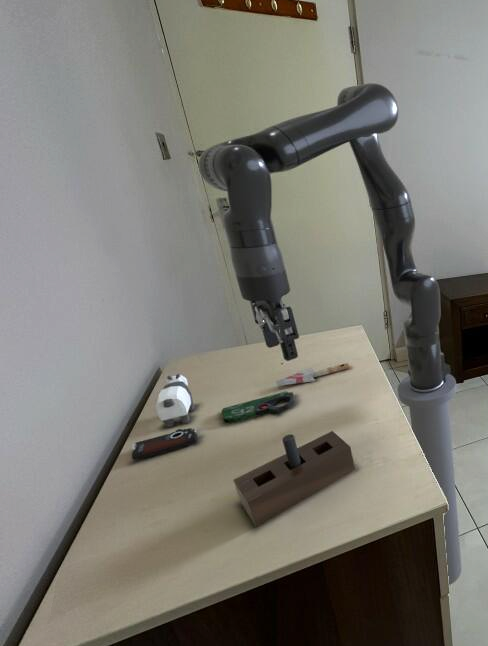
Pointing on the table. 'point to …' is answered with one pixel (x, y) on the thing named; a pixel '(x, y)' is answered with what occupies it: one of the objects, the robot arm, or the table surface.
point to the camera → (164, 443)
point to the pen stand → (293, 477)
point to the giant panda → (175, 401)
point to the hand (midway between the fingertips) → (282, 352)
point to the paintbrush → (310, 375)
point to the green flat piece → (257, 407)
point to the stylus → (291, 451)
